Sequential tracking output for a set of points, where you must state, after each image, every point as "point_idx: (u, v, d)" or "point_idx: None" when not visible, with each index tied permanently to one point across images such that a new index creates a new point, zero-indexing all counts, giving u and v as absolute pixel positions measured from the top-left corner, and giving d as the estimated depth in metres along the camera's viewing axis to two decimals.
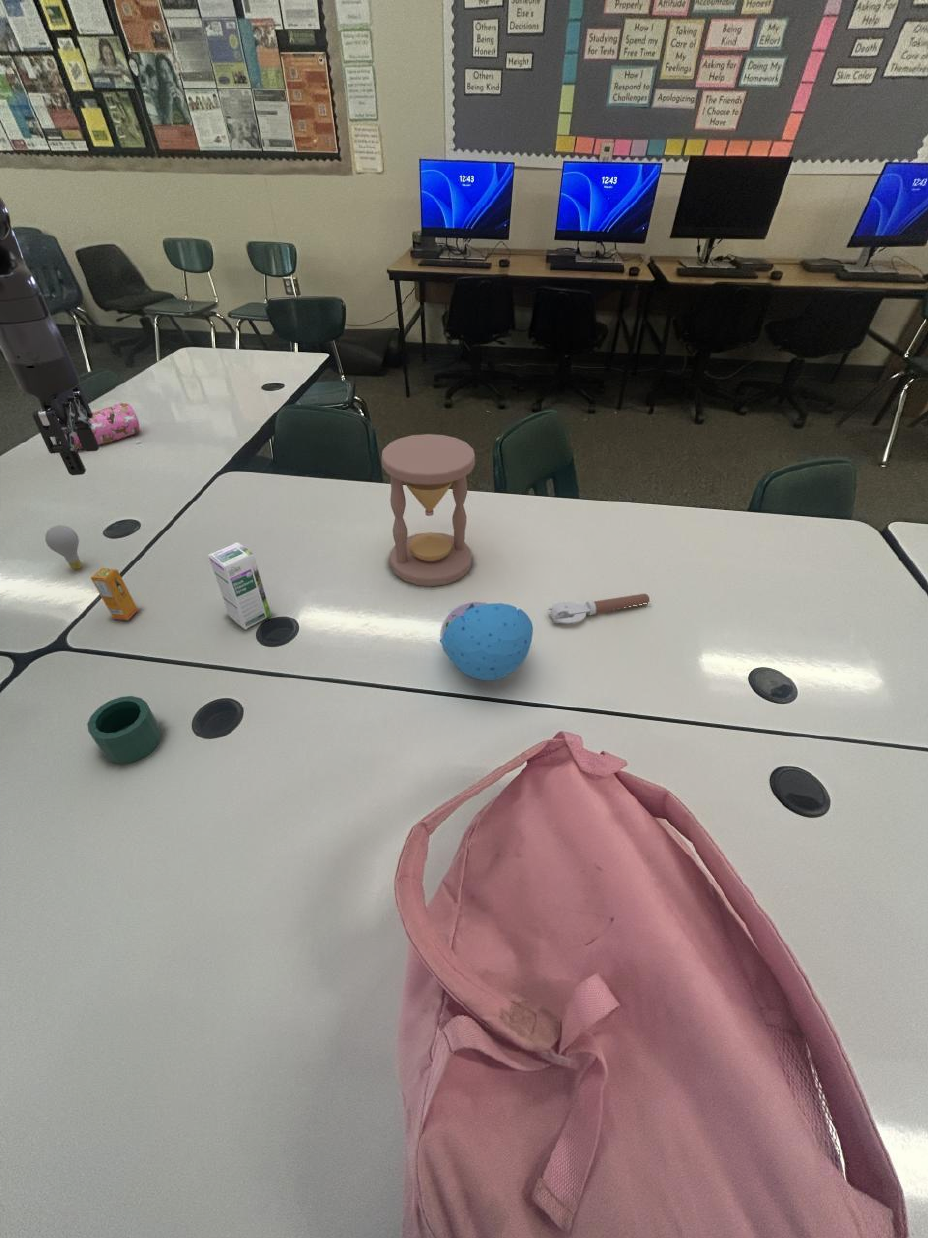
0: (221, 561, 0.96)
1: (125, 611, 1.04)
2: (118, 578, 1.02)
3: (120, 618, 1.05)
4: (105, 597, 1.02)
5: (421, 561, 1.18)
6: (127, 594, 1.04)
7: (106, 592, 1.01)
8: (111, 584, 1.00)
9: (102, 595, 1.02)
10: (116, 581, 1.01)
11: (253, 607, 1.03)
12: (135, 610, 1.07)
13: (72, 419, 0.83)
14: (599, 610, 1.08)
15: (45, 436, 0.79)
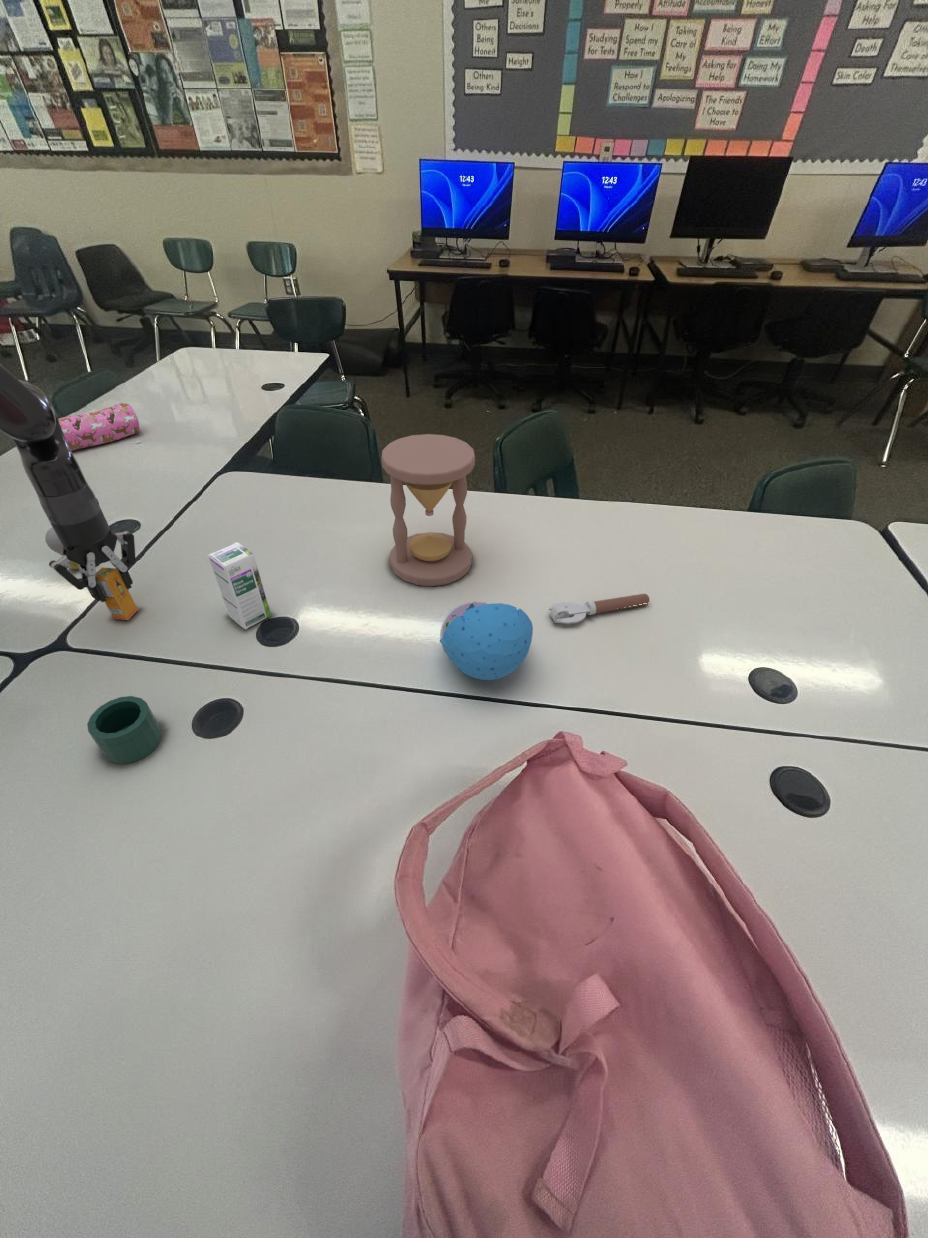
0: (221, 561, 0.96)
1: (126, 611, 1.04)
2: (118, 578, 1.02)
3: (120, 618, 1.05)
4: (105, 597, 1.02)
5: (421, 561, 1.18)
6: (127, 594, 1.04)
7: (106, 592, 1.01)
8: (111, 584, 1.00)
9: None
10: (116, 581, 1.01)
11: (253, 607, 1.03)
12: (135, 610, 1.07)
13: (87, 564, 0.96)
14: (599, 610, 1.08)
15: (63, 577, 0.96)
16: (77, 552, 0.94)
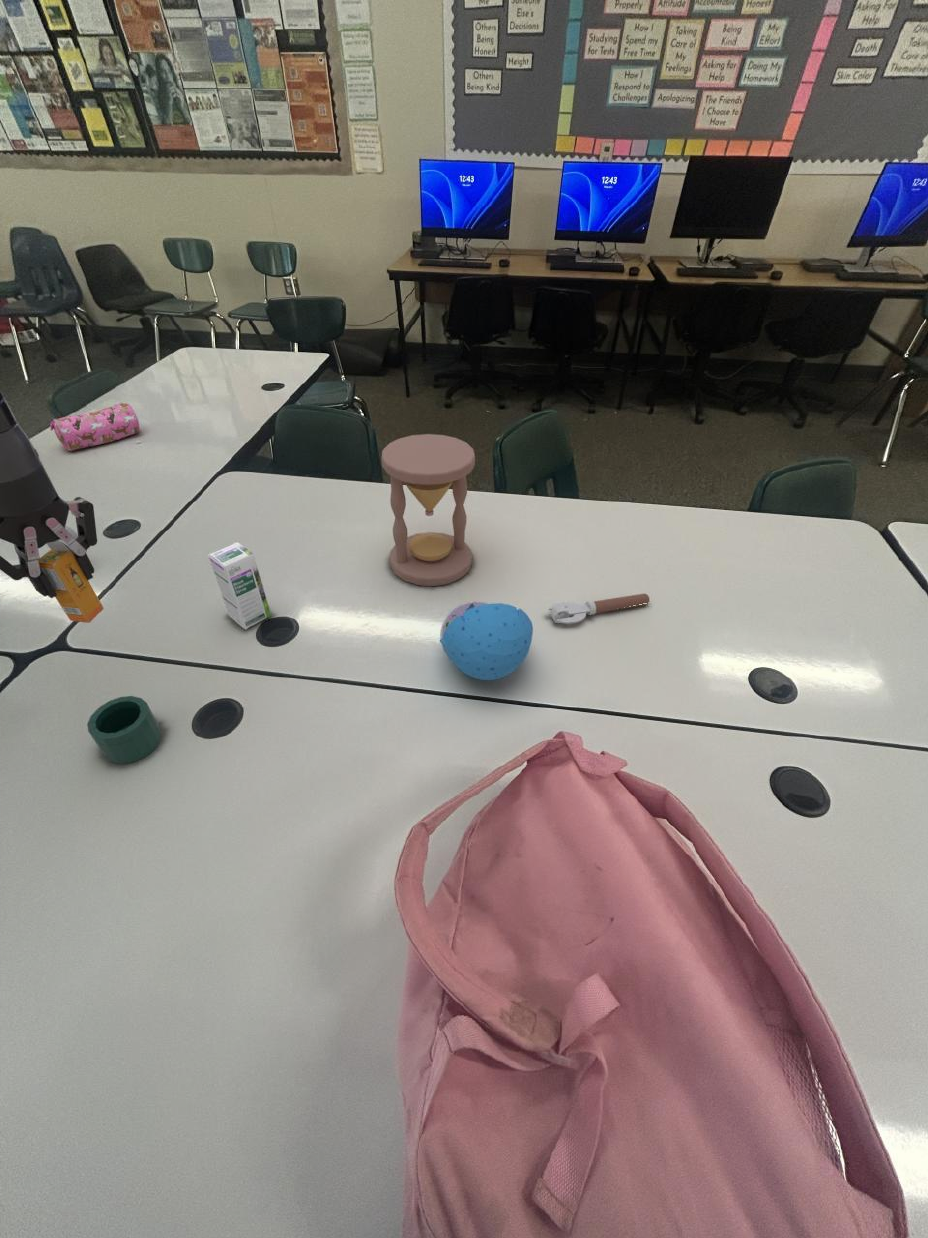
0: (221, 561, 0.96)
1: (86, 610, 0.76)
2: (73, 564, 0.74)
3: (78, 619, 0.77)
4: (56, 590, 0.74)
5: (421, 561, 1.18)
6: (87, 586, 0.76)
7: (57, 583, 0.73)
8: (63, 572, 0.72)
9: None
10: (70, 568, 0.73)
11: (253, 607, 1.03)
12: (99, 608, 0.79)
13: (25, 544, 0.68)
14: (599, 610, 1.08)
15: None
16: (9, 526, 0.66)
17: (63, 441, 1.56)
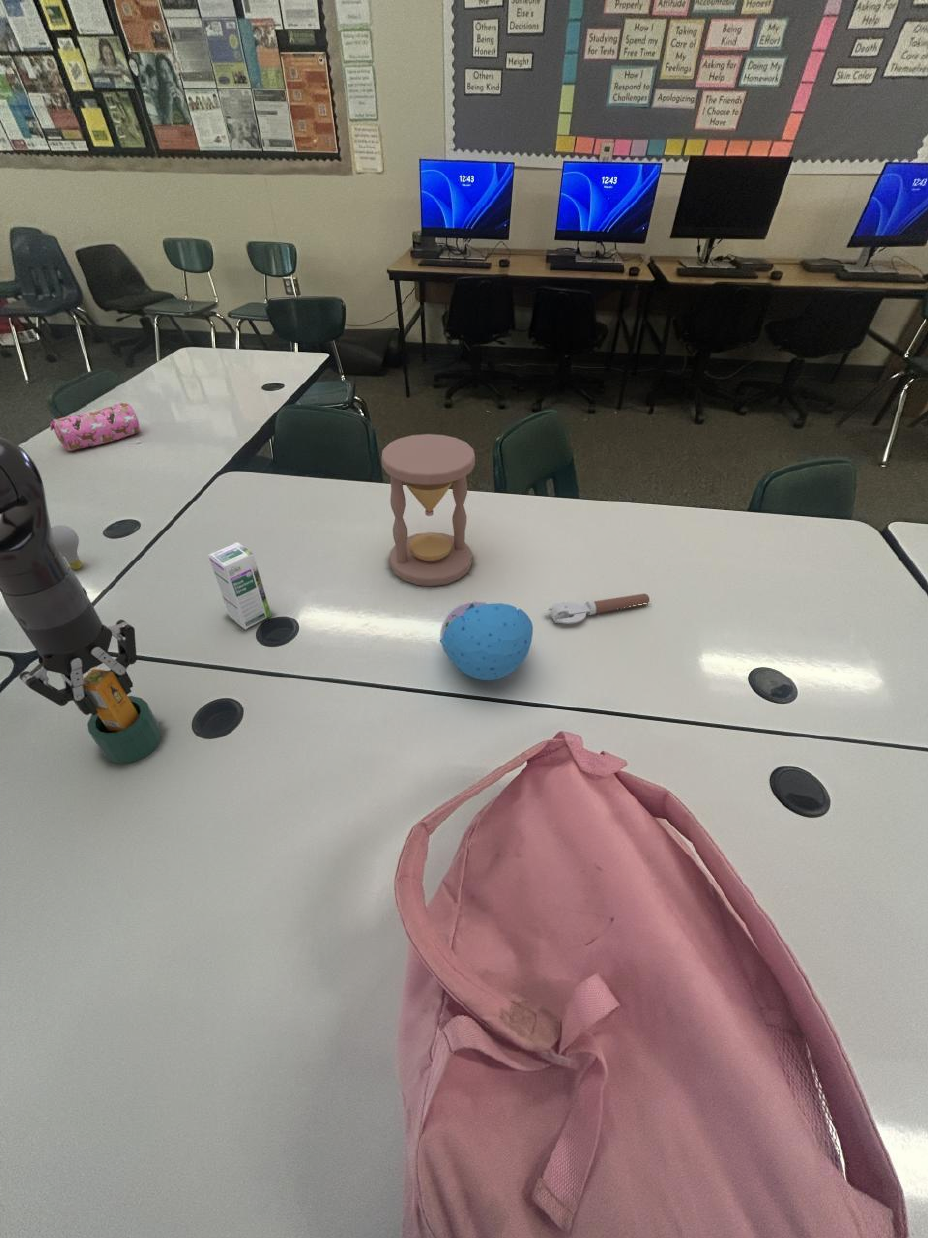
0: (221, 561, 0.96)
1: (124, 723, 0.80)
2: (114, 683, 0.77)
3: (116, 730, 0.80)
4: (97, 707, 0.77)
5: (421, 561, 1.18)
6: (126, 701, 0.80)
7: (98, 702, 0.76)
8: (104, 693, 0.76)
9: None
10: (111, 687, 0.77)
11: (253, 607, 1.03)
12: (136, 718, 0.82)
13: (71, 674, 0.71)
14: (599, 610, 1.08)
15: None
16: (58, 660, 0.69)
17: (63, 441, 1.56)
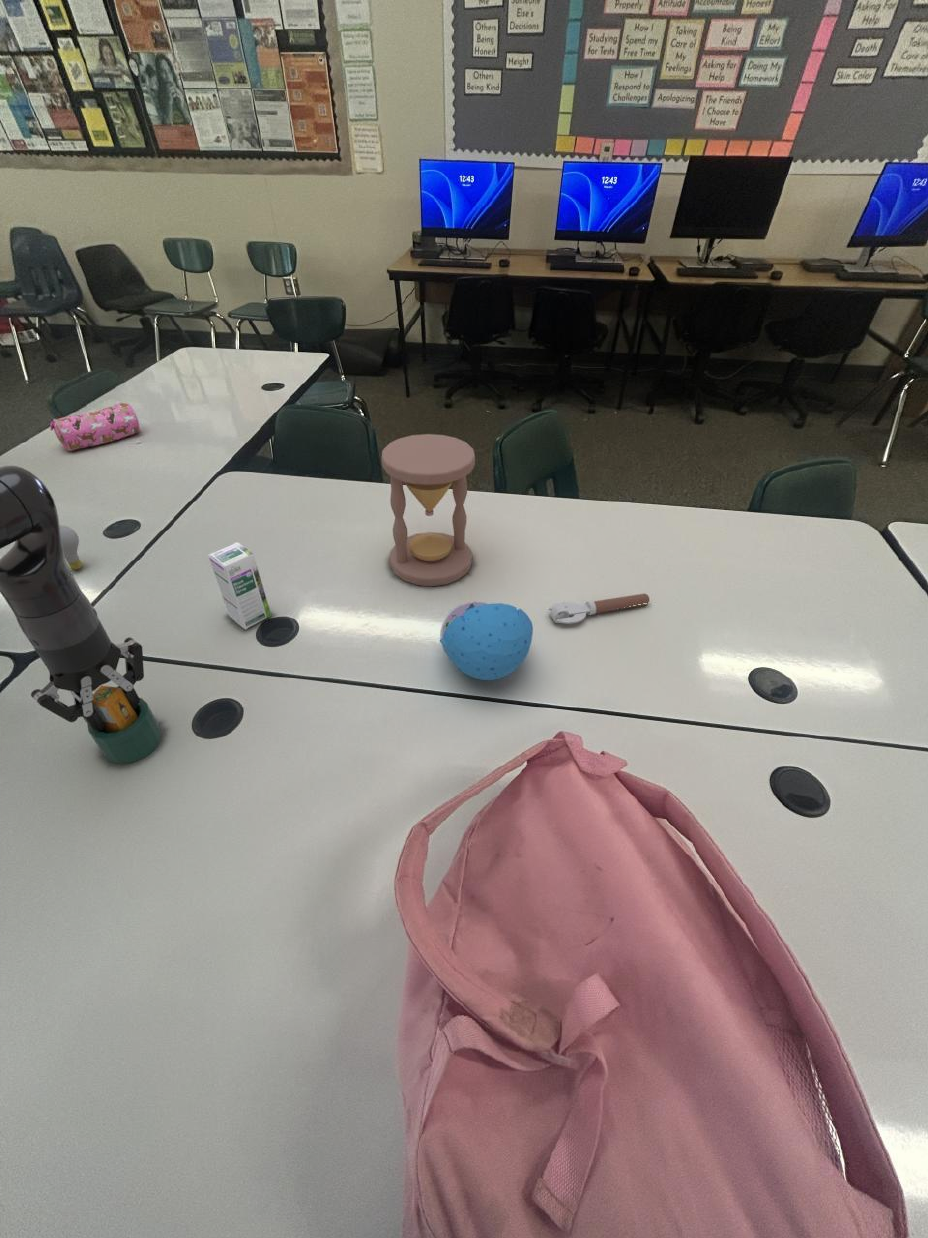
0: (221, 561, 0.96)
1: None
2: (122, 699, 0.79)
3: None
4: (105, 723, 0.79)
5: (421, 561, 1.18)
6: (133, 716, 0.82)
7: (106, 718, 0.79)
8: (113, 709, 0.78)
9: None
10: (119, 703, 0.79)
11: (253, 607, 1.03)
12: None
13: (81, 691, 0.73)
14: (599, 610, 1.08)
15: None
16: (68, 678, 0.71)
17: (63, 441, 1.56)
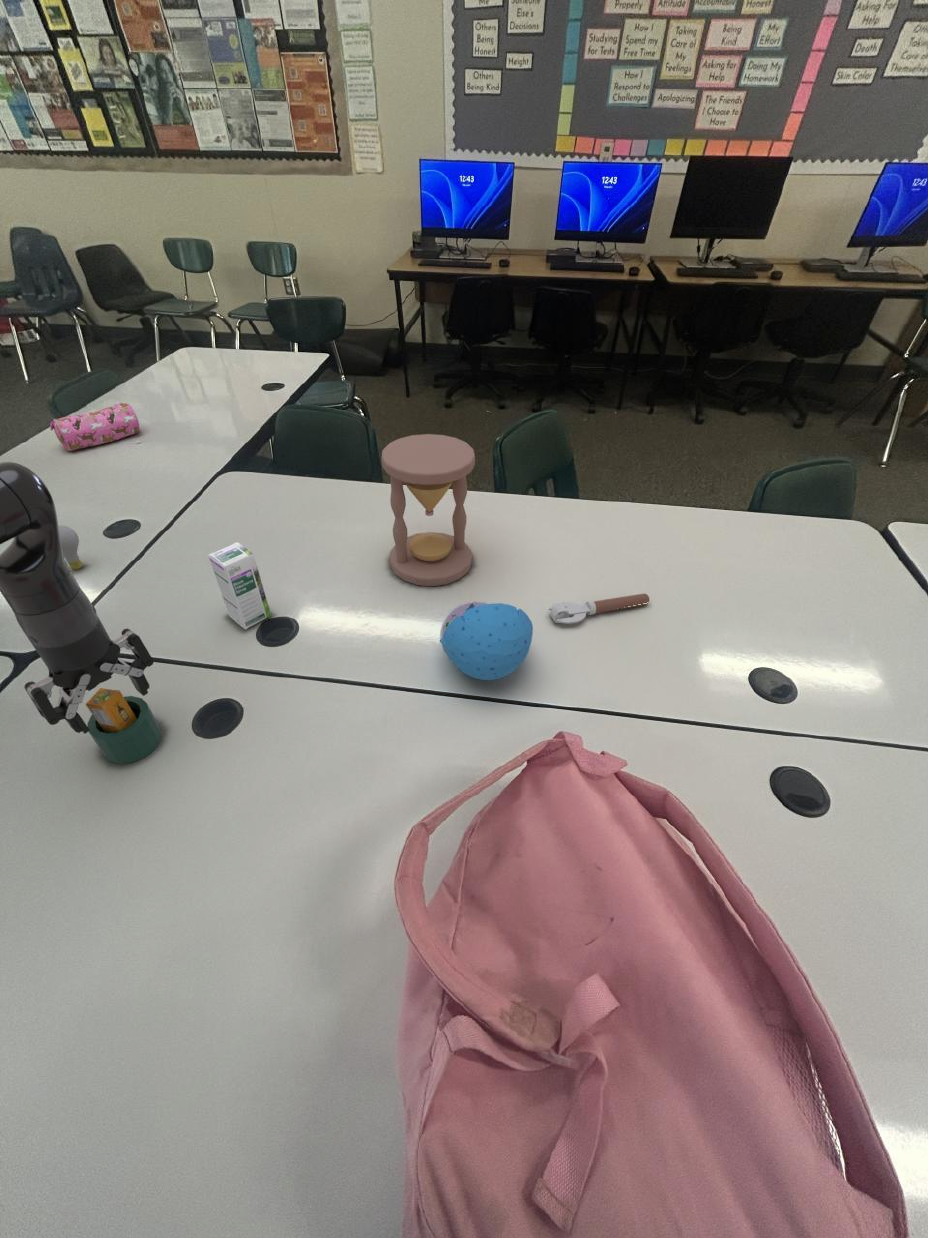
0: (221, 561, 0.96)
1: None
2: (121, 702, 0.79)
3: None
4: (104, 725, 0.80)
5: (421, 561, 1.18)
6: (132, 718, 0.82)
7: (105, 720, 0.79)
8: (111, 712, 0.78)
9: (100, 723, 0.79)
10: (118, 706, 0.79)
11: (253, 607, 1.03)
12: None
13: (81, 689, 0.73)
14: (599, 610, 1.08)
15: (35, 705, 0.71)
16: (67, 676, 0.71)
17: (63, 441, 1.56)
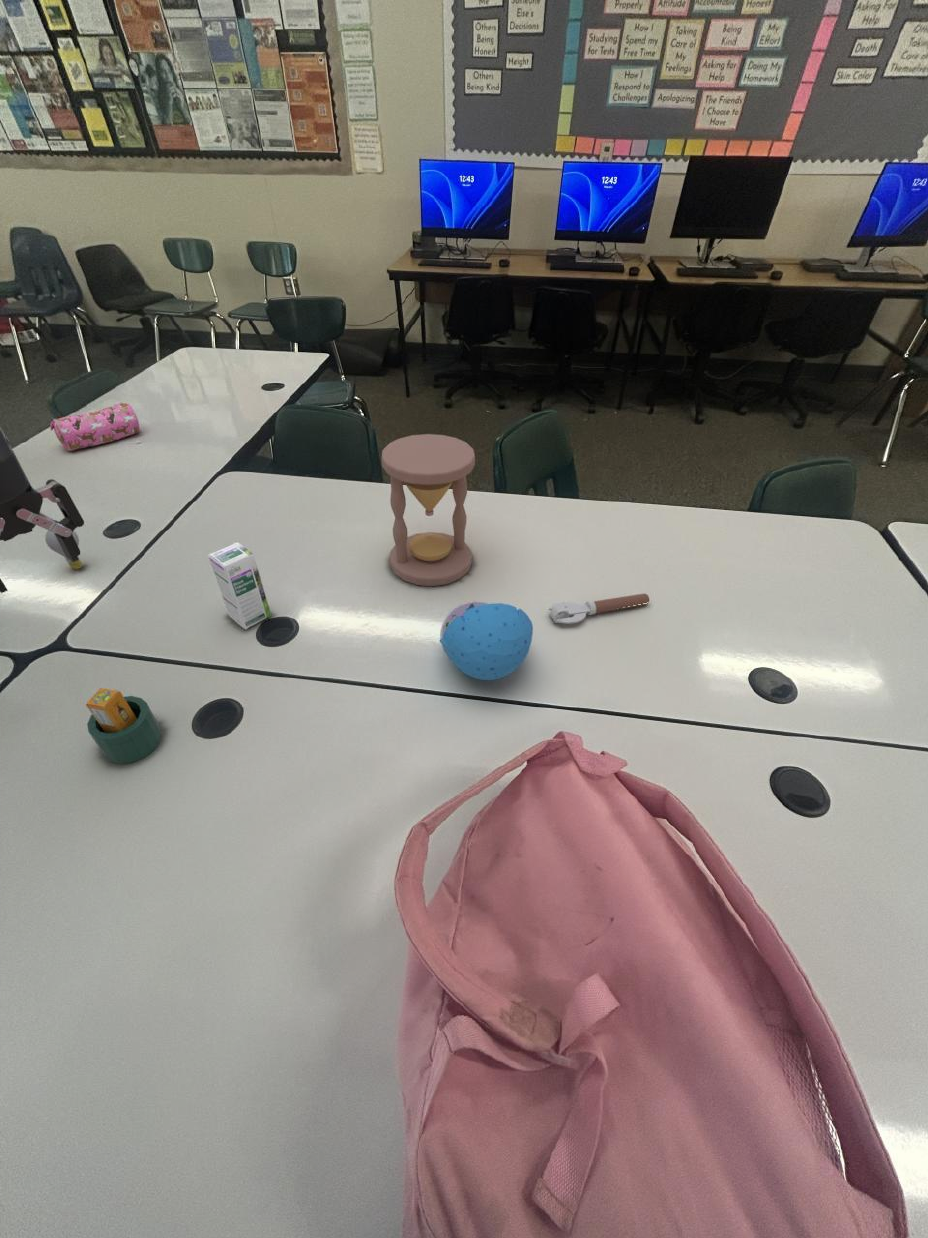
0: (221, 561, 0.96)
1: None
2: (121, 702, 0.79)
3: None
4: (104, 725, 0.80)
5: (421, 561, 1.18)
6: (132, 718, 0.82)
7: (105, 720, 0.79)
8: (111, 712, 0.78)
9: (100, 723, 0.79)
10: (118, 706, 0.79)
11: (253, 607, 1.03)
12: None
13: None
14: (599, 610, 1.08)
15: None
16: None
17: (63, 441, 1.56)
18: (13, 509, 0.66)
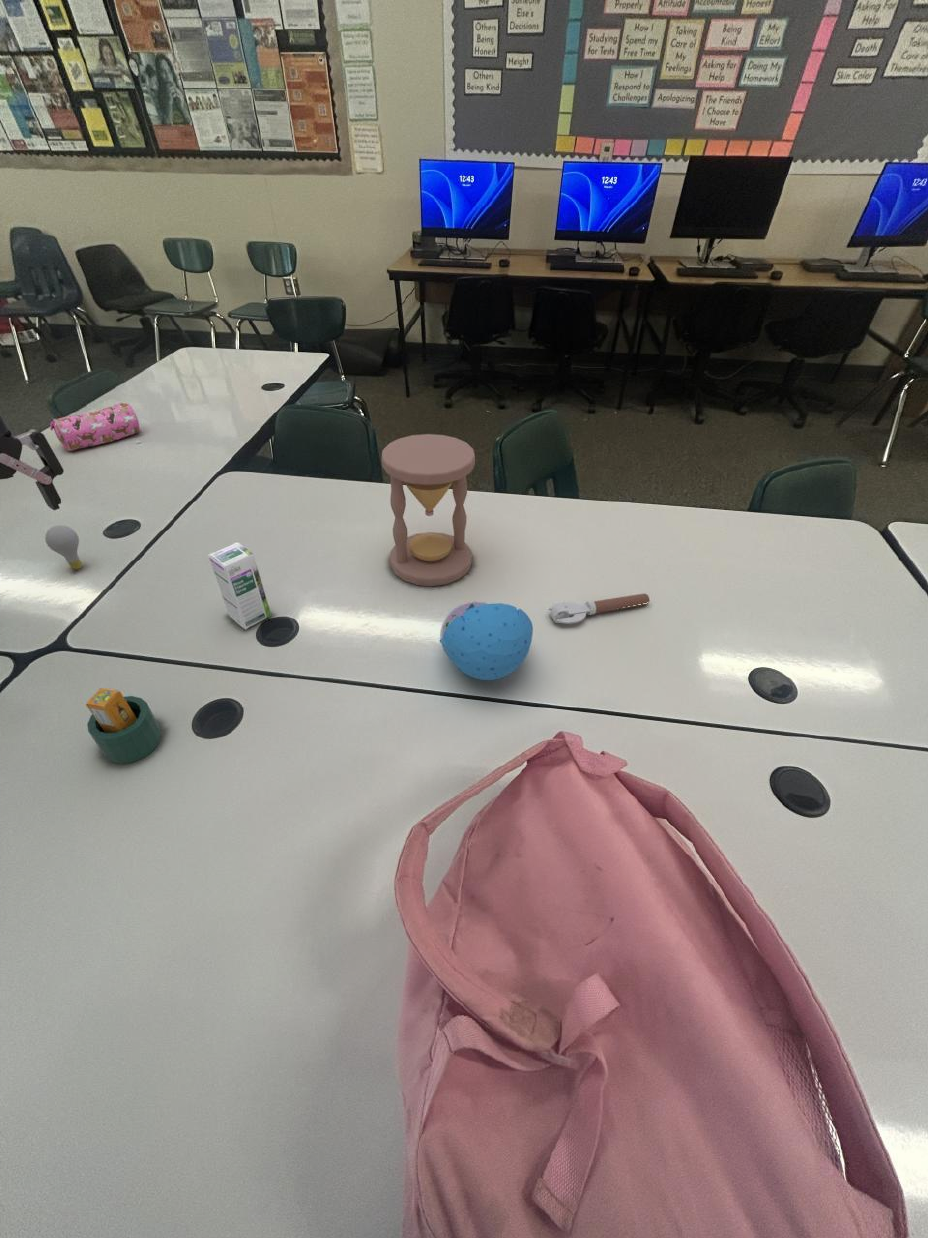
0: (221, 561, 0.96)
1: None
2: (121, 702, 0.79)
3: None
4: (104, 725, 0.80)
5: (421, 561, 1.18)
6: (132, 718, 0.82)
7: (105, 720, 0.79)
8: (111, 712, 0.78)
9: (100, 723, 0.79)
10: (118, 706, 0.79)
11: (253, 607, 1.03)
12: None
13: None
14: (599, 610, 1.08)
15: None
16: None
17: (63, 441, 1.56)
18: None
